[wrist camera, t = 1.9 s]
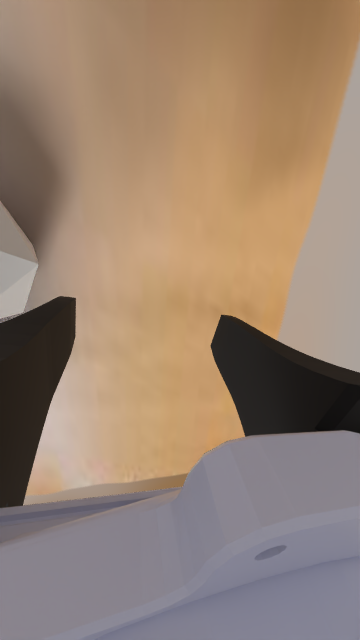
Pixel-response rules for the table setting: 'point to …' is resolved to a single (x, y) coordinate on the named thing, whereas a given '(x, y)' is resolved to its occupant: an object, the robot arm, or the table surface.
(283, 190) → the table surface
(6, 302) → the die
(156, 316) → the table surface
